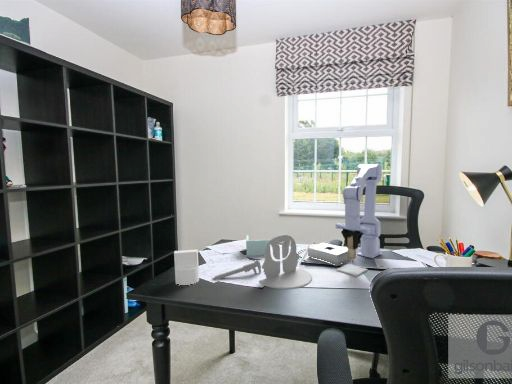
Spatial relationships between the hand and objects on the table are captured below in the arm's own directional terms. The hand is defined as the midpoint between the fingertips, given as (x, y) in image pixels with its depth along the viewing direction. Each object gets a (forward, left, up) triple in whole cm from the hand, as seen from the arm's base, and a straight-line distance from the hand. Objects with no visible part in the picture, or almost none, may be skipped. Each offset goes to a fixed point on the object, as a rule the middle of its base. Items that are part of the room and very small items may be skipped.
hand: (352, 247), depth 115 cm
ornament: (+25, -11, -10) cm, 29 cm away
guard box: (-6, -15, -10) cm, 19 cm away
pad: (0, 0, -10) cm, 10 cm away
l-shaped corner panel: (+10, -47, -10) cm, 50 cm away
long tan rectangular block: (0, 0, -4) cm, 4 cm away
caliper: (+38, -29, -10) cm, 49 cm away
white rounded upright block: (+55, -39, -10) cm, 68 cm away
